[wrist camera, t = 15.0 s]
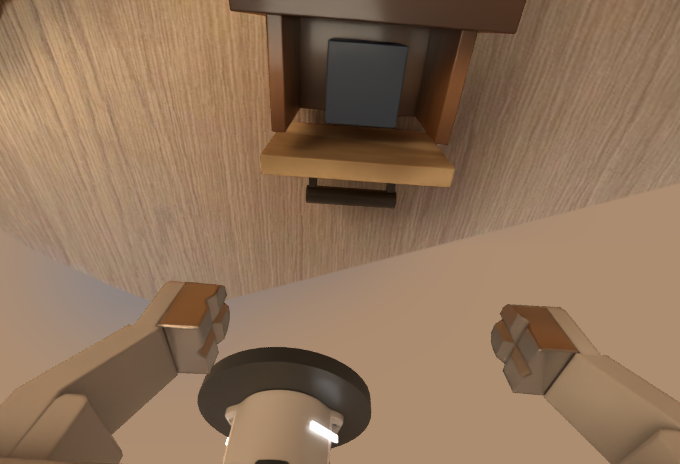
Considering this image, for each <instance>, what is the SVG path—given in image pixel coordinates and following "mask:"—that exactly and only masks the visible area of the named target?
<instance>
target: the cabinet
mask: <svg viewBox="0 0 680 464" xmlns="http://www.w3.org/2000/svg"><path fill="white" fill-rule="evenodd" d="M525 3H526V0H229V5H230V10H231V11H235V12H242V13H249V14H256V15H263V16H266V14H271V15H283V16H296V17H308V18H320V19H333V20H345V21H357V22H370V23H382V24H394V25H407V26H419V27H431V28H444V29H456V30H468V31H478V33H502V34H515V33H516V31H517V28H518V25H519V22H520V19H521V16H522V12H523V9H524V6H525Z"/></svg>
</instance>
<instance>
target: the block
mask: <svg viewBox="0 0 680 464" xmlns="http://www.w3.org/2000/svg"><path fill="white" fill-rule="evenodd" d="M408 49H409V46H406V45H403V44H400V43H394V42H381V41H369V40H356V39H344V38H331V39H329V40H328V52H327V77H326V102H325V123H330V124H343V125H356V126H370V127H383V128H396V123H397V117H398V111H399V105H400V98H401V92H402V86H403V80H404V74H405V68H406V61H407V55H408Z"/></svg>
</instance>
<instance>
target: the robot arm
mask: <svg viewBox="0 0 680 464" xmlns="http://www.w3.org/2000/svg"><path fill="white" fill-rule="evenodd" d="M226 296H227V294H226V289H225V286H223V285H215V284H204V283H193V282H178V281H169V282H167V283H165V284H164V286H163V287H162V288H161V290H160V291H159V292H158V294H157V295H156V296H155V298H154V299H153V301H152V302H151V303H150V305H149V306H148V307H147V309H146V310H145V311H144V313H143V314H142V315H141V317H140V318H139V319H138V321H137V322H136V323H135V325H127V326H125V327H124V328H122V329H120V330H118V331H117V332H115V333H113V334H111V335H109V336H108V337H106V338H104V339H102V340H101V341H99V342H97V343H95V344H94V345H92V346H90V347H88V348H87V349H85V350H83V351H81V352H79V353H78V354H76V355H74V356H72V357H71V358H69V359H67V360H65V361H64V362H62V363H60V364H58V365H57V366H55V367H53V368H51V369H50V370H48V371H46V372H44V373H42V374H41V375H39V376H37V377H36V378H34V379H32V380H30V381H28V382H27V383H25V384H23V385H21V386H20V387H18V388H16V389H15V390H14V391H13V392H12V393H11V394H10V395H9V397H8V398H7V399H6V400H5V401H4V402H3V403H2V404H1V405H0V464H119V462H120V460H121V458H122V456H123V455H122V451H121V449H120V447H119V446H118V444H117V443H116V441H115V440H114V438H113V436H112V434H113V433H114V432H115V431H116V430H117V429H119V428H120V427H121V426H122V425H123V424H124V423H125V422H126V421H127V420H128V419H130V418H131V417H132V416H133V415H134V414H135V413H136V412H137V411H138V410H140V409H141V408H142V407H143V406H144V405H145V404H146V403H147V402H148V401H149V400H151V399H152V398H153V397H154V396H155V395H156V394H157V393H158V392H159V391H160V390H162V389H163V388H164V387H165V386H166V385H167V384H168V383H169V382H170V381H171V380H172V379H174V378H175V377H176V376H177V375H178V374H177V373H195V374H210V372H211V370H212V367H213V365H214V363H215V360H216V358H217V355H218V347H217V344H218V343H220V342H221V341H222V340H223V339H224V338H225V335H226V333H227V329H228V325H229V318H230V317H229V316H230V312H229V306H227V305H226V304H225V303H224V301H225V298H226ZM500 315H501V317H502V320H501V321H499V322H498V323H496V324H495V325H494V328H493V330H492V332H491V343H492V347H493V350H494V353H495V355H496V357H497V358H499V359H500V360H501V361H502V362H503V363H504V364H505V365H504V368H503V372H504V374H505V376H506V378H507V380H508V383H509V385H510V387H511V389H512V391H513V392H514V393H523V394H534V395H545V396H544V398H545V399H546V400H547V401H548V402H549V403H550V404H551V405H552V406H553V407H554V408H555V409H556V410H557V411H558V412H559V413H560V414H561V415H562V416H563V417H564V418H565V419H566V420H567V421H568V422H569V423H571V424H572V426H573V427H575V429H577V431H578V432H579V433H580V434H581V435H583V437H585V438H586V440H588V442H589V443H591V444H592V445H593V446H594V447H595V448H596V449H597V450H598V451H599V452H600V453H601V454H602V455H603V456H604V457H605V458H606V459H607V460H608V461H609V462H610V463H611V464H680V402H678V401H677V400H675V399H674V398H672V397H671V396H669V395H667V394H666V393H664V392H663V391H661V390H660V389H658V388H656V387H655V386H653V385H652V384H650V383H649V382H647V381H646V380H644V379H643V378H641V377H640V376H638V375H636V374H635V373H633V372H631V371H630V370H629V369H627V368H625V367H624V366H622V365H621V364H619V363H617V362H616V361H615V360H613V359H612V358H610V357H609V356H605V355H601V354H600V353H599V352H598V350H597V349H596V348H595V347H594V345H593V344H592V343H591V342H590V341H589V339H588V338H587V337H586V335H585V334H584V333H583V332H582V331H581V329H580V328H579V327H578V325H577V324H576V323H575V322H574V320H573V319H572V318H571V317H570V316H569V314H568V313H567V312H566V311H565V310H564V309H562V308H560V307H546V306H542V307H540V306H527V305H510V304H508V305H506V306H505V307H503V309H502V311H501V313H500ZM225 418H226V419H227V421H228V422H229V424H230V425H231V430H230V434H229V438H228V439H227V442H226V445H227V446H226V450H225V454H224V459H223V463H222V464H330V461H329V459H330V458H329V457H330V450H331V444H332V442H335V443H338V436H337V434H338V432H339V430H340V428H341V426H342V425H343V420H344V416H343V415H342V414H340V413H338V412H336V411H333V410H331V409H329V408H328V407H327V406H325V405H324V404H323V403H322V402H321V401H319V400H318V399H316V398H314V397H312V396H309V395H307V394H304V393H300V392H295V391H289V390H268V391H262V392H258V393H255V394H252V395H250V396H249V397H247V398H246V399H244V400H243V401H242V402H241V403H239V404H237V405H233V406H230V407H228V408H227V409H226V412H225Z"/></svg>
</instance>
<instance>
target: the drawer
mask: <svg viewBox="0 0 680 464" xmlns="http://www.w3.org/2000/svg"><path fill="white" fill-rule="evenodd" d="M266 29H267V48H268V68H269V87H270V106H271V125H272V131H273V132H276V133H275V135H274V136H273V138H272V139H271V140H270V142H269V143H268V145H267V146H266V148H265V149H264V150H263V152H262V153H261V155H260V160H261V173H262V174H269V175H283V176H297V177H309V185H307V188H306V202H307V203H320V204H334V205H348V206H363V207H377V208H391V209H394V208H395V205H396V191H394V190H395V185H396V184H408V185H422V186H436V187H450V186H451V183H452V179H453V176H454V172H455V168H454V167H453V166H452V164H451V163H450V162H449V160H448V159H447V158H446V156H445V155H444V154H443V153H442V151H441V150H440V149H439V147H438V146H437V145H436V144H444V145H447V144H449V140H450V136H451V132H452V129H453V125H454V121H455V117H456V113H457V109H458V106H459V102H460V98H461V94H462V90H463V86H464V83H465V79H466V75H467V71H468V67H469V64H470V60H471V56H472V52H473V48H474V44H475V41H476V37H477V33H478V31H468V30H456V29H444V28H431V27H419V26H407V25H394V24H382V23H370V22H357V21H345V20H333V19H320V18H308V17H296V16H283V15H271V14H266ZM331 38H344V39H356V40H369V41H381V42H394V43H400V44H403V45H406V46H409V49H408V55H407V61H406V68H405V74H404V80H403V86H402V92H401V98H400V105H399V111H398V115H400V116H413V117H416V119H417V120H418V121H419V123H420V124H421V126H422V127H423V128H424V130H425V131H426V132H419V131H405V130H392V129H379V128H365V127H352V126H339V125H325V124H312V123H299V122H292V121H293V119H294V117H295V116H296V114H297V112H298V111H299V109H300V108H307V109H320V110H325V102H326V77H327V52H328V40H329V39H331ZM317 178H324V179H338V180H352V181H366V182H380V183H387V185H386V190H374V189H360V188H346V187H332V186H318V185H317Z"/></svg>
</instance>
